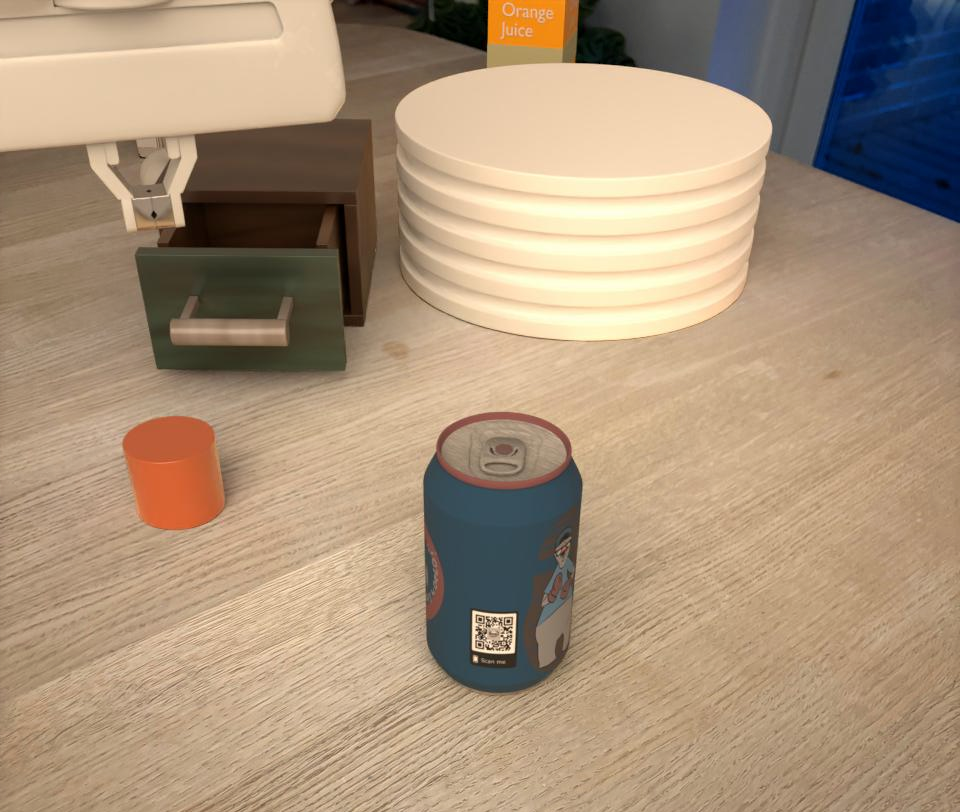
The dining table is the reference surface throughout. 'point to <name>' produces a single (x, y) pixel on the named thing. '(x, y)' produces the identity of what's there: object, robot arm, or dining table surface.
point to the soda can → (500, 550)
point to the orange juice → (531, 32)
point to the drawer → (248, 288)
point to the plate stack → (578, 198)
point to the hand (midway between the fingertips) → (155, 226)
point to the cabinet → (298, 182)
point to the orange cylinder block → (174, 472)
